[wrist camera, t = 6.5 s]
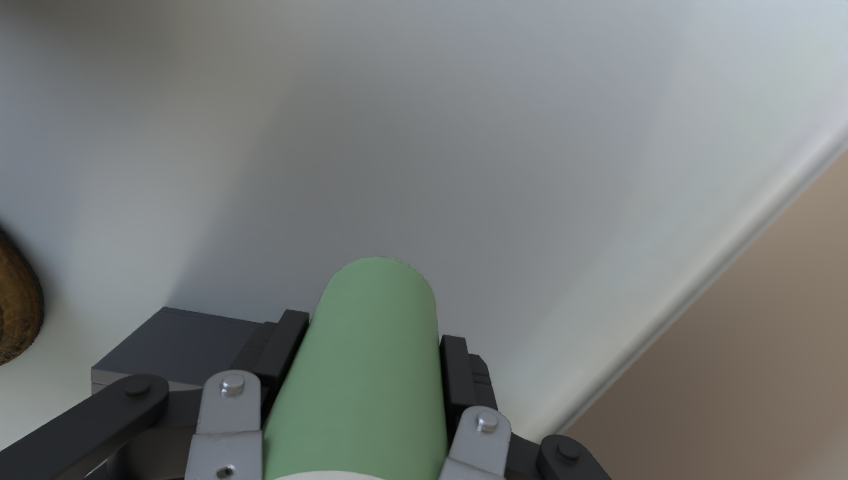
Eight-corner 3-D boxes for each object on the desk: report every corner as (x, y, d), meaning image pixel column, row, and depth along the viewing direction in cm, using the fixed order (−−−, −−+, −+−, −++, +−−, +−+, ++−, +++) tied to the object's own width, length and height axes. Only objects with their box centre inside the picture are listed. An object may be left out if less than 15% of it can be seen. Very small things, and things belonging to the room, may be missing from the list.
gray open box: (163, 306, 28) (90, 367, 22) (416, 349, 29) (415, 419, 23) (157, 481, 32) (94, 576, 26) (380, 514, 33) (371, 612, 27)
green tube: (326, 243, 17) (187, 492, 7) (449, 264, 18) (496, 532, 7) (312, 351, 19) (179, 695, 8) (426, 369, 19) (438, 719, 9)
